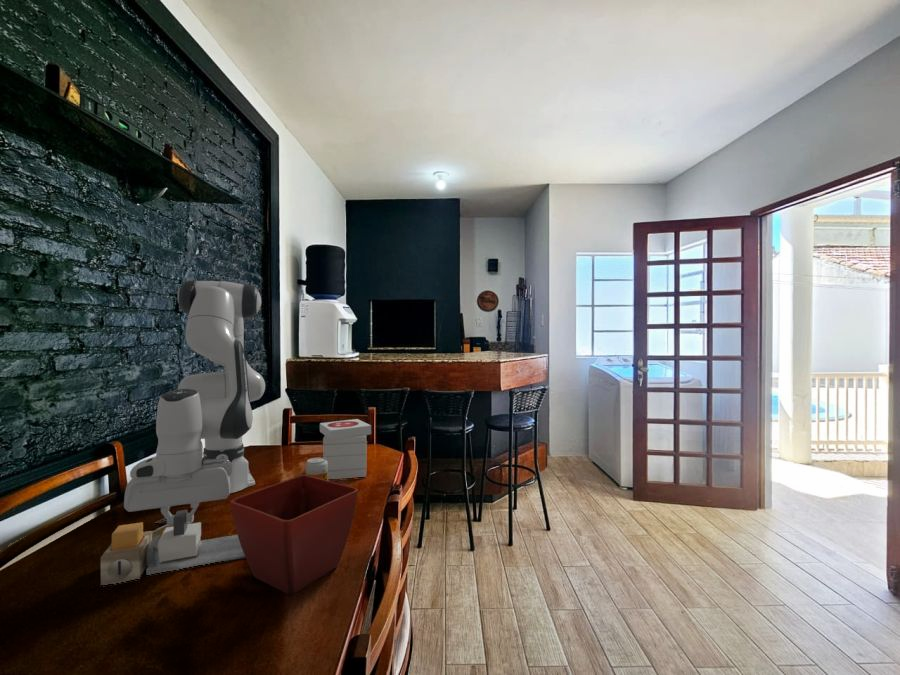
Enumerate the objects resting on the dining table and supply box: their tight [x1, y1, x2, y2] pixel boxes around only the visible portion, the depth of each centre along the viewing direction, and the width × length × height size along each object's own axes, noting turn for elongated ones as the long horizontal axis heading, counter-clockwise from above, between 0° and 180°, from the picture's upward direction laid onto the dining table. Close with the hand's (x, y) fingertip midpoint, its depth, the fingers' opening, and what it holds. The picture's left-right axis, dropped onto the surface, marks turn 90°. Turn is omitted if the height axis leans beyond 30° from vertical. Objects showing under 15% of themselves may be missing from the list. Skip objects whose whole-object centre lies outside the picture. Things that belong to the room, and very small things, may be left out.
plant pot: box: [229, 474, 359, 595], centre depth 90 cm, size 19×19×17 cm
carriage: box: [158, 509, 202, 562], centre depth 95 cm, size 7×7×9 cm
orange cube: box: [111, 521, 144, 551], centre depth 91 cm, size 4×4×4 cm
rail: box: [145, 534, 246, 576], centre depth 98 cm, size 8×25×6 cm, turn 113°
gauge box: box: [100, 530, 153, 586], centre depth 91 cm, size 11×6×6 cm, turn 23°
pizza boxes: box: [319, 418, 372, 480], centre depth 162 cm, size 19×30×18 cm, turn 11°
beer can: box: [305, 456, 329, 481], centre depth 122 cm, size 6×6×15 cm
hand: (180, 523), depth 95 cm, fingers closed on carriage, 2 cm apart
